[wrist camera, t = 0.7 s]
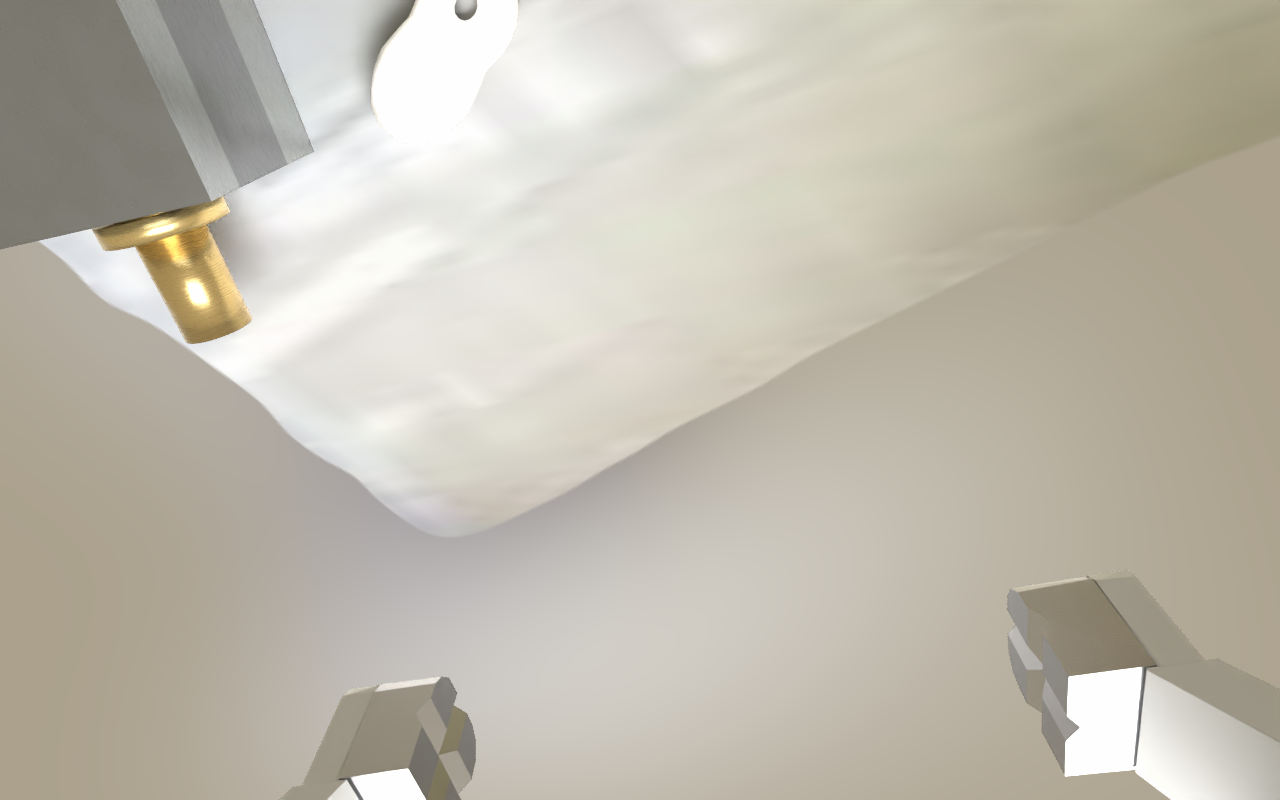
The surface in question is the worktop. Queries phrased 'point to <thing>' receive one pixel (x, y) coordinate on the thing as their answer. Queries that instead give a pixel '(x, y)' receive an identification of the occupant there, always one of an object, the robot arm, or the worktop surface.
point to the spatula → (438, 65)
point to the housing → (134, 110)
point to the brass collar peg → (185, 267)
